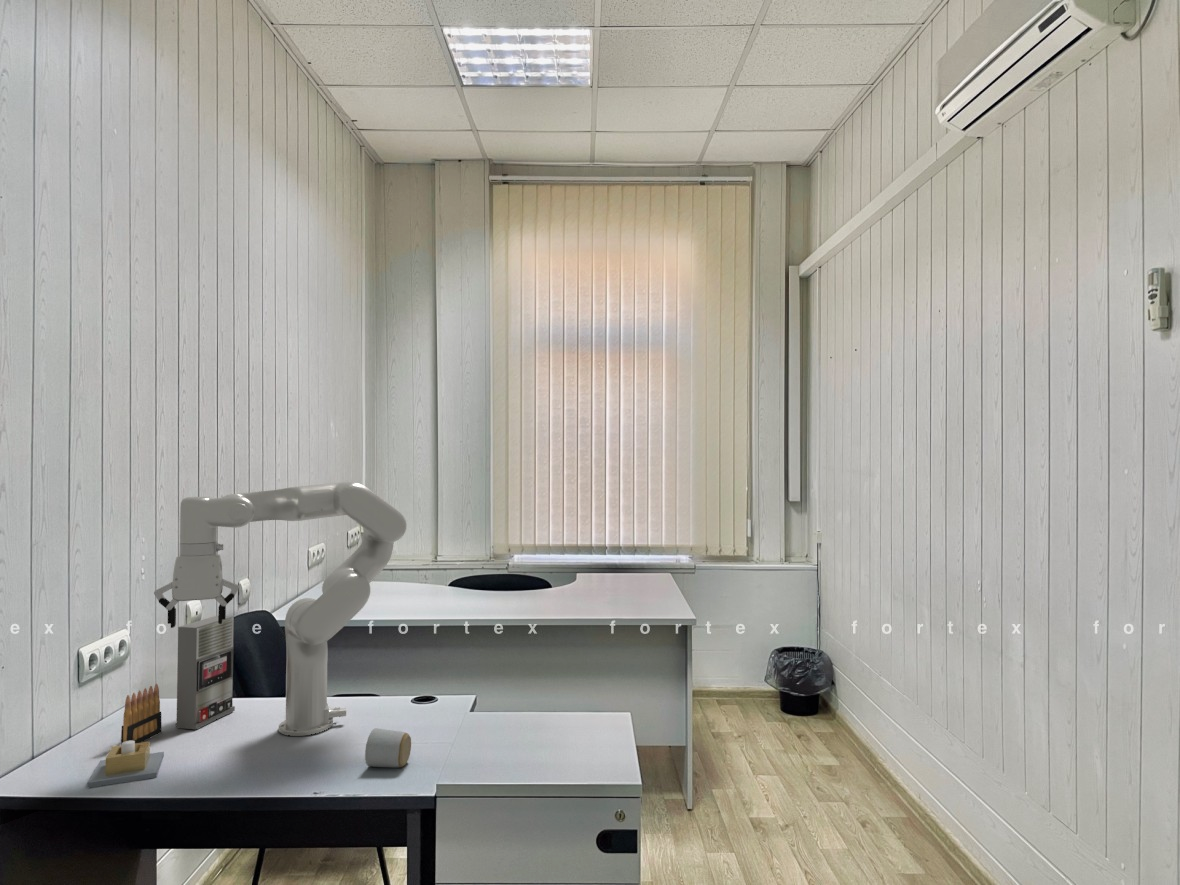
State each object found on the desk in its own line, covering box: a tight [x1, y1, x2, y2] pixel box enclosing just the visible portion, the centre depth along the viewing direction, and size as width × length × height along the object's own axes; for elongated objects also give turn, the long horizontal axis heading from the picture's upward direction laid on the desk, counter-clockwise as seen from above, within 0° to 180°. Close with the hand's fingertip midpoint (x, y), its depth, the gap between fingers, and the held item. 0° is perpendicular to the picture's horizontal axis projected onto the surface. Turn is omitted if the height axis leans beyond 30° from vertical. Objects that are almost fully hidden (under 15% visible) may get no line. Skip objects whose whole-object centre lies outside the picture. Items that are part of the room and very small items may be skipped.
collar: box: [105, 741, 151, 776], centre depth 154 cm, size 7×7×4 cm
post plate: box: [87, 741, 165, 788], centre depth 154 cm, size 12×12×6 cm
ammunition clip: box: [120, 683, 163, 745], centre depth 172 cm, size 11×2×12 cm, turn 171°
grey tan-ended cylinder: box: [364, 727, 412, 769], centre depth 159 cm, size 11×8×8 cm
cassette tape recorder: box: [175, 615, 236, 731], centre depth 186 cm, size 14×6×25 cm, turn 168°
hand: (197, 624), depth 167 cm, fingers open, 9 cm apart
